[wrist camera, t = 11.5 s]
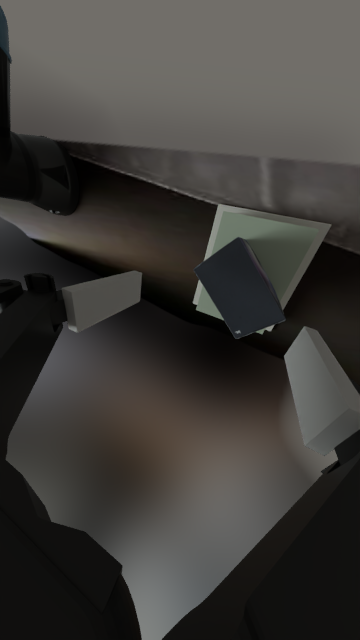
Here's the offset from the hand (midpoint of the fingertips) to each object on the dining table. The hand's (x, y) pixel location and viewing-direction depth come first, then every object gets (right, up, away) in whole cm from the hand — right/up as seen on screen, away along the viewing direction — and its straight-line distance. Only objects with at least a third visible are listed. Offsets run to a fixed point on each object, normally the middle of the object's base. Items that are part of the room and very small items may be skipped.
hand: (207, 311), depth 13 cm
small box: (+9, +6, +14) cm, 18 cm away
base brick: (+11, +9, +19) cm, 24 cm away
